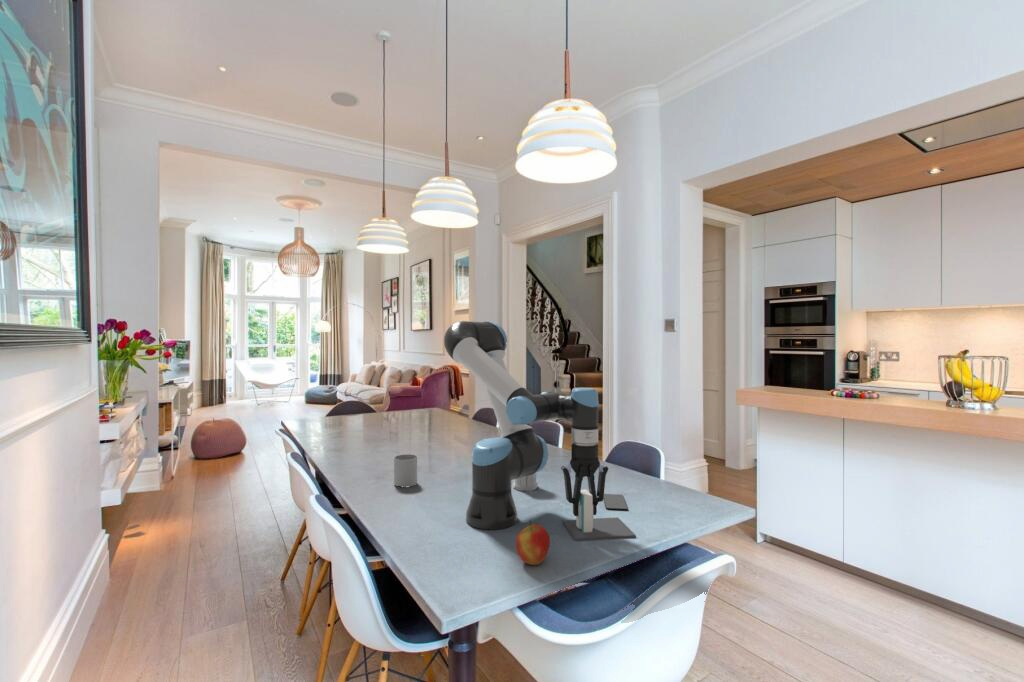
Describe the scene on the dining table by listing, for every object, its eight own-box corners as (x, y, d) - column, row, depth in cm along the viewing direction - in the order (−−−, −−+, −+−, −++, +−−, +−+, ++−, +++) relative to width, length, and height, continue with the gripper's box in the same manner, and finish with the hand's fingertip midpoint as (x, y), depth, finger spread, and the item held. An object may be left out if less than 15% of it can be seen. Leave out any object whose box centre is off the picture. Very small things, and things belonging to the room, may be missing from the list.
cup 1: (411, 488, 169) (412, 460, 169) (390, 486, 170) (390, 459, 170) (420, 481, 177) (420, 454, 177) (399, 480, 179) (399, 453, 179)
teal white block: (582, 532, 129) (583, 496, 129) (577, 524, 134) (577, 489, 134) (592, 532, 129) (592, 495, 129) (586, 524, 135) (586, 489, 135)
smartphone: (622, 494, 162) (628, 508, 148) (622, 496, 162) (628, 511, 148) (602, 493, 163) (605, 508, 148) (602, 496, 163) (605, 510, 148)
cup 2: (505, 486, 172) (505, 453, 172) (523, 481, 178) (523, 449, 178) (524, 493, 164) (525, 458, 164) (543, 487, 170) (543, 454, 170)
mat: (575, 540, 125) (575, 538, 125) (562, 522, 138) (562, 520, 138) (635, 537, 128) (635, 535, 128) (617, 519, 140) (618, 517, 140)
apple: (543, 573, 107) (544, 529, 107) (510, 566, 110) (511, 524, 110) (553, 558, 115) (554, 517, 115) (522, 552, 118) (523, 512, 118)
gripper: (560, 446, 127) (560, 533, 127) (616, 445, 130) (616, 530, 129) (554, 441, 135) (554, 523, 134) (607, 439, 137) (606, 520, 137)
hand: (584, 526), depth 132 cm, fingers closed on teal white block, 3 cm apart
